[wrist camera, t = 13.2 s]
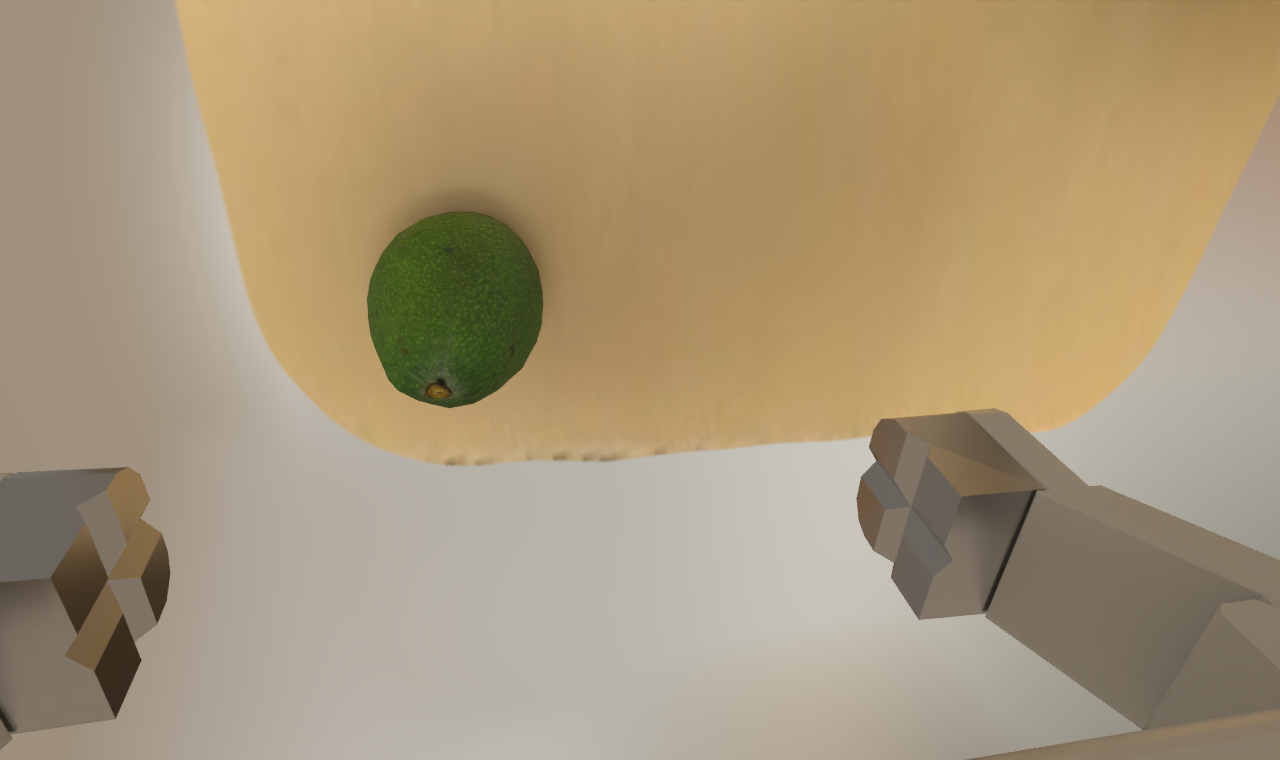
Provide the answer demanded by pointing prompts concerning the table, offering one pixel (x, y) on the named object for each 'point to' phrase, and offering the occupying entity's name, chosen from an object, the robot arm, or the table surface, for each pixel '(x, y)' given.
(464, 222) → the fruit
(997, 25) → the table surface
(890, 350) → the table surface
